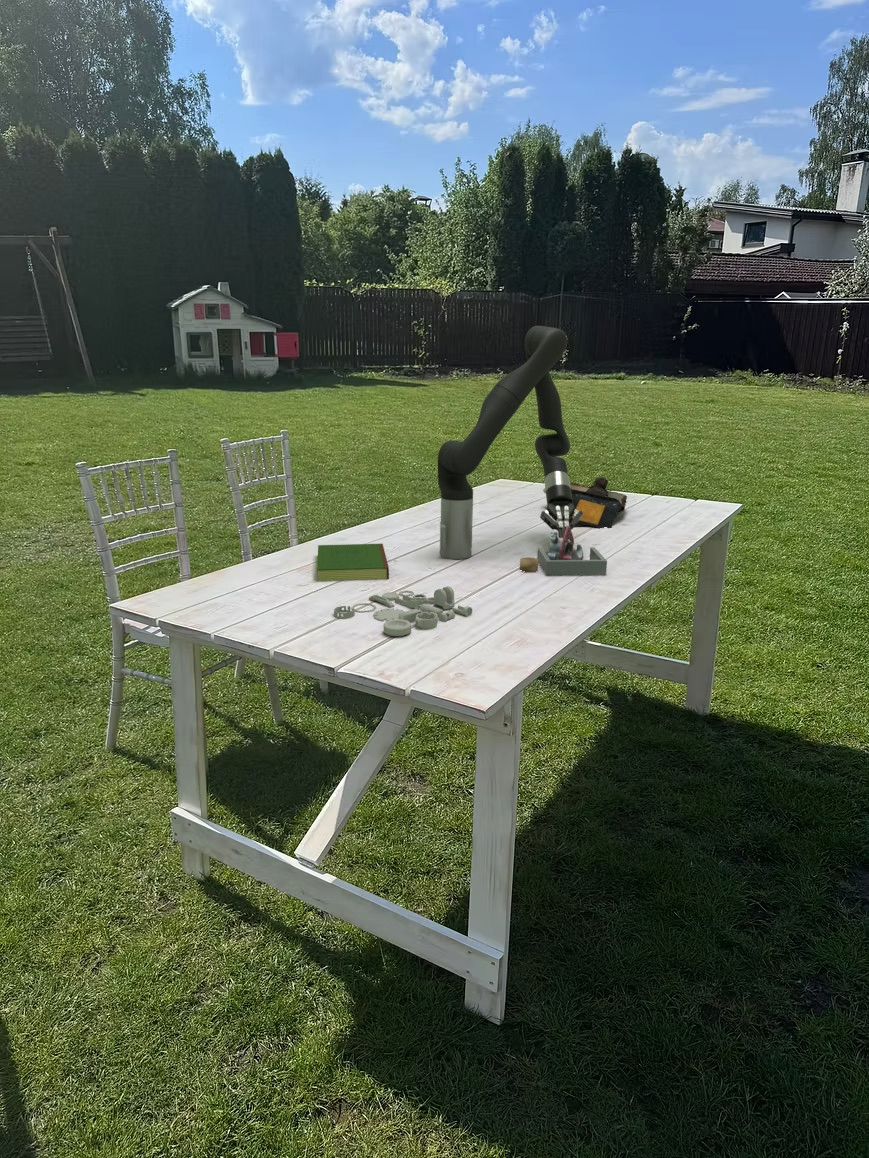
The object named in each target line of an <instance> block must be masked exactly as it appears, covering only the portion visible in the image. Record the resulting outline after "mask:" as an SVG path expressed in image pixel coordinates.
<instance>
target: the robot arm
mask: <svg viewBox="0 0 869 1158" xmlns="http://www.w3.org/2000/svg"><path fill="white" fill-rule="evenodd" d="M567 344H568V337H567V334H566V332H565V331H564V330H562V329H560V328H558V327H552V326H551V327H550V326H544V325H535V326H532V327H531V328H529V329H528V331H527V332H526V335H525V337H524V350H525V354H526V358H527V361H526V362H524V363H523V364H522V365H521V366H519V367H518V368H516V369H514V370H513V371H511V372H510V373H508V374H507V375H505V376H504V377H502V378H500V380H498V381H497V383H496V384H495V385H494V386H493V387H492V389H491V390H490V391H489V393H487V395H486V397H484V400H483V403H482V405H481V408H480V412H479V416H478V419H477V422H476V424H475V425H474V427H473V429H472V430H471V431H470V433H469V434H468V435H467V436H466V438H465V439H464V440H463V441H459V440H456V439H455V440H454V439H452V440H447V441H445V442H444V443H443V444H441V446H440V448H439V450H438V454H437V484H438V487H439V490H440V521H439V555H440V558H441V559H451V560H462V559H463V560H464V559H468V558H471V557H472V554H473V553H472V552H473V523H474V522H473V520H474V518H473V517H474V516H473V515H474V513H473V511H474V489H473V487H472V485H471V484H470V483H469V482H468V479H467V476H469V475H471V474H472V473H473V472H474V471H476V469H477V468H478V466H479V465H480V464H481V462H482V460H483V459H484V457H485V455H486V453H487V452H488V450H489V449H490V447H491V445H492V444H493V442H494V441H495V439H496V438H497V437H498V436H499V434H500V433H501V431H503V428H504V427H505V426H506V424H508V422H509V421H510V419H511V418H512V417H513V416H514V415H515V413H516V412H517V411H518V410H519V408H520V407H521V405H522V404H523V403H524V401H526V400H525V399H526V398H527V397H528V396H529V395H530V393H531V392H532V391H533V390H534V391H535V397H536V402H537V403H536V405H537V415H538V417H537V418H538V425H539V428H541V429H543V430H549V431H554V432H555V433H550V434H549V433H548V434H541V435H538V436H537V437H536V439H535V441H534V449H535V451H536V454H537V456H538V457H539V458H538V459H539V460H540V461H541V465H542V468H543V474H544V489H545V492H546V493H545V497H546V505H547V506H546V508H545V510H542V511H541V513H540V516H539V518H540V519H541V521H543V522H544V523H545V524H546V525H547V526H548V527H549V528H550V529H551V530H552V531H553V530H556V532H557V536H558V538H563V537H564V534H565V531H566V528H567V526H568V525H569V526H570V529H571V531H572V530H573V529H574V528H575V527H574V526H575V525H576V524H577V523H578V521H579V520H580V519H581V517H582V514H583V512H582V511H577V510H576V509H575V506H574V505H573V500H572V493H571V486H570V483H571V481H570V480H571V479H570V477H569V471H568V464H567V461H566V460H565V459H564V458H563V456H566V455H567V454H568V453H569V451H570V449H571V443H570V439H569V437H568V434H567V431H566V429H565V426H564V422H563V414H562V402H561V397H560V393H559V391H558V388H557V387H556V385H555V382H554V379H552V378H553V377H552V375H551V372H550V369H552V368H553V367H554V366H555V365H556V363H558V361H560V359H561V358H562V357H563V355H564V352H565V351H566V349H567ZM573 513H574V519H573V520H572V522H571V523H569V519H570V517H571V516H572V514H573Z"/></svg>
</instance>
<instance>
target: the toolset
mask: <svg viewBox="0 0 869 1158" xmlns="http://www.w3.org/2000/svg"><path fill="white" fill-rule="evenodd" d="M608 484H609V482H608V479H606V477H603V476H602V477H601V476H600V477H597V478H596V479H595V480H594V482H593V484H592V485H591V486H588V485H584V484H583V485H582V484H579V483H575V482H570V486H571V493H572V500H573V505H574V506H575V509H576V510H577V511H582V512H583V514H582V517H581V519H580V520H579V521H578V523H577V524H576V525H575V526H574V528H577V527H581V526H585V525H587V526H591V527H593V528H598V529H600V528H602V529H604V527H607V528H606V529H610V528H612V529H613V527H612V524H613V523H614V519H616V518H617V514H619V513H621V512H624V511H625V510H626V506H627V505H626V504H627V500H628V496H627V494H623V493H619V492H617V491H610V490H608V489H607V487H608ZM542 491H543V493H544V494H546V492H545V488H544V489H542ZM573 519H574V513H573V514H572V516H571V517H570V519H569V523H571V522H572V520H573Z"/></svg>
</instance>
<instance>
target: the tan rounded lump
mask: <svg viewBox="0 0 869 1158" xmlns="http://www.w3.org/2000/svg"><path fill="white" fill-rule="evenodd" d="M520 570H522V571H525V572H524V573H526V572H534V573H537V572H538V571H539V563H538V559H537V558H536V557H530V556H529V557H522V558H520V560H519V571H520ZM522 571H521V572H522ZM536 571H537V572H536Z"/></svg>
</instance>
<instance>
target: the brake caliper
mask: <svg viewBox="0 0 869 1158" xmlns="http://www.w3.org/2000/svg"><path fill="white" fill-rule="evenodd" d="M548 538H549V540H550V542H549V545H548V546H549V552H548V553H546V554H547V556H548V557H549V559H550V560H584V551H583V547H582V544H580V543H577V545H576V548H575V547H574V545H575V539H574V535H573V532H572V530H571V529H570V526H569V525H568V526H567V528H566V531H565V534H564V537H563V538H559V536H558V531H554V532H553V531H551V532H550V535H549V536H548Z"/></svg>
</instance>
